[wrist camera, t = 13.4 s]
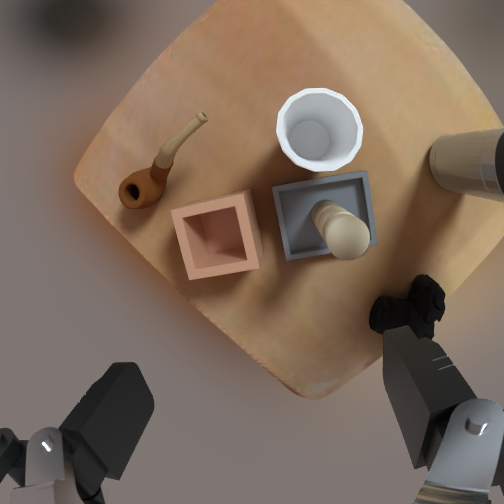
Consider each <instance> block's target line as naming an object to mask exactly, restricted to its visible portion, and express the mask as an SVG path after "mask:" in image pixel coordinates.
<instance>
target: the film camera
mask: <svg viewBox="0 0 504 504" xmlns="http://www.w3.org/2000/svg"><path fill="white" fill-rule="evenodd" d="M444 299H445V292H444V291H443V289H442V288H441V287H440V286H439V284H438V283H437V282H436V281H434V280H433V279H432V278H431V277H429V276H428V275H427V274H426V275H423V274H422V275H418V276H417V277H416V278H415V280H414V282H413V284H412V287H411V289H410V291H409V294H408V296H407V298H406V300H401V299H395V298H392V297H383V296H380V297H379V298H378V299H377V300H376V301H375V303H374V305H373V307H372V309H371V312H370V318H369V325H370V328H371V329H372V330H373V331H376V332H377V333H379V334H383V333H384V331H386V330H390V329H395V328H399V327H403V326H409V327H410V328H411V330H412V331H413V332H414V334H415V335H416V337H417V338H418V339H421V338H424V337H427V338H429V339H431V340H432V338H433V337H434V321H436V320H438V321H439V322H440V320H441V318H442V316H443V314H444V311H445V303H444Z"/></svg>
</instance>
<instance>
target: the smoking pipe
mask: <svg viewBox="0 0 504 504" xmlns="http://www.w3.org/2000/svg"><path fill="white" fill-rule="evenodd" d="M207 121H208V117H207V116H206V115H205V114H204V113H203V112H199V113H198V114H197V115H196V116H195V117H194V118H193V119H192V120H191V121H189V122H188V123H187V124H186V125H185V126H184V127H182V128H181V129H180V130H179V131H178V132H177V133H176V134H174V135H173V136H172V137H171V138H170V139H169V140H167V141H166V142H165V143H164V144H163V146H162V147H161V149H160V151H159V153H158V155H157V156H156V157H155V159H154V162H153V165H152V167H150V168H147V169H143V170H140V171H137V172H134V173H132V174H131V175H130V176H128V177H127V178H126V179H124V180H123V181H122V183H121V184H120V187H119V198H120V201H121V202H122V204H123V205H124V206H126V207H127V208H130V209H140V208H146V207H149V206H151V205H153V204H154V203H155V202H156V201H157V200H158V199H159V198H160V197H161V195H162V193H163V191H164V189H165V186H166V183H167V176H168V174H169V172H170V170H171V167H172V165H173V159H174V156H175V154H176V152H177V150H178V149H179V147H180V146H181V145H182V144H183V142H184V141H185V140H186V139H187V138H188V137H189V136H190V135H191V134H192V133H194V132H195V131H196V130H197V129H198V128H199V127H200V126H202V125H203V124H204V123H206V122H207Z"/></svg>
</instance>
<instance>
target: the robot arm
mask: <svg viewBox="0 0 504 504" xmlns="http://www.w3.org/2000/svg"><path fill="white" fill-rule="evenodd" d="M429 163H430V169H431V172H432V175H433V177H434V179H435V180H436V182H437V183H438V184H439V185H440V186H441V187H443V188H444V189H446V190H449V191H454V192H459V193H463V194H468V195H473V196H477V197H482V198H486V199H490V200H495V201H499V202H503V203H504V128H503V129H494V130H485V131H476V132H468V133H460V134H452V135H445V136H442V137H440V138H439V139H437V140H436V141H435V143H434V144H433V146H432V148H431V151H430V157H429ZM383 380H384V385H385V389H386V392H387V394H388V397H389V399H390V402H391V405H392V407H393V410H394V412H395V415H396V418H397V421H398V423H399V426H400V429H401V431H402V434H403V437H404V440H405V443H406V446H407V448H408V452H409V455H410V458H411V461H412V464H413V467H414V469H417V468H420V467H423V466H427V468H428V471H429V473H428V475H427V477H426V479H425V481H424V484H423V486H422V488H421V489H420V491H419V493H418V494H417V496H416V499H415V500H414V502H413V504H491V500H488V495H489V491H490V488H491V486H497V485H500V487H501V490H502V492H503V495H504V409H502V408H501V407H500V406H499V405H498V404H497V403H495V402H494V401H492V400H488V399H483V398H477V397H476V395H475V394H474V392H473V391H472V389H471V388H470V386H469V385H468V383H467V382H466V381H465V379H464V378H463V376H462V375H461V374H460V372H459V371H458V369H457V368H456V367H455V366H453V363H452V361H451V360H450V358H449V357H447V355H446V353H445V352H444V350H443V349H442V348H441V346H440V345H439V344H438V343H436V342H434V341H432V340H431V339H429V338H427V337H424V338H421V339H418V338H417V337H416V335H415V334H414V332H413V331H412V330H411V328H410V327H409V326H403V327H399V328H395V329H390V330H386V331H384V333H383ZM153 411H154V399H153V396H152V394H151V392H150V390H149V388H148V386H147V384H146V381H145V379H144V377H143V375H142V373H141V371H140V369H139V367H138V365H137V364H136V363H134V362H116V363H113V364H112V365H111V366H110V367H109V369H108V370H107V371H106V372H105V374H104V375H103V376H102V377H101V378H100V379H99V380H98V381H96V382H95V383H94V384H93V385H92V386H91V387H90V388H89V390H88V391H87V392H86V395H84V396H83V397H82V398H81V400H80V403H78V404H77V405H76V406H75V407H74V409H73V410H72V411H71V413H70V414H69V415H68V416H67V418H66V419H65V421H64V422H63V423H62V424H61V426H60V427H59V428H58V429H57V428H55V427H47V428H43V429H41V430H39V431H37V432H36V433H34V434H33V435H32V437H31V438H30V439H29V440H19V439H18V438H17V437H16V435H15V434H14V433H13V432H12V430H11V429H9V428H2V429H0V483H1V481H2V480H3V478H4V477H5V475H6V474H7V473H8V474H9V476H10V477H11V478H12V479H13V480H14V481H15V482H16V483H17V484H18V485H19V486H20V487H18V488H14V489H12V491H11V494H10V504H111V500H110V497H109V493H108V490H107V487H106V485H105V484H104V483H103V480H104V478H105V477H107V478H111V479H115V480H120V478H121V475H122V474H123V471H124V470H125V467H126V465H127V463H128V461H129V459H130V457H131V455H132V453H133V451H134V449H135V447H136V445H137V443H138V441H139V439H140V437H141V435H142V433H143V431H144V429H145V427H146V425H147V423H148V421H149V419H150V417H151V415H152V413H153Z"/></svg>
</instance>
